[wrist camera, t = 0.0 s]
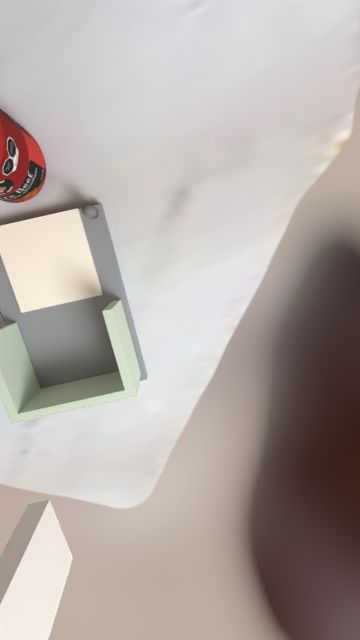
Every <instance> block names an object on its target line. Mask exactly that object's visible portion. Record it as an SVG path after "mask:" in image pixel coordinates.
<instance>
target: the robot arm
mask: <svg viewBox="0 0 360 640" xmlns="http://www.w3.org/2000/svg"><path fill="white" fill-rule="evenodd" d="M72 559H73V558H72V555H71V553H70V550H69V548H68V545H67V543H66V540H65V538H64V535H63V533H62V530H61V528H60V525H59V523H58V520H57V518H56V515H55V513H54V510H53V508H52V505H51V503H50V500H46V501H42V502H37V503H33V504H29V505H28V506H27V508H26V510H25V512H24V513H23V515H22V517H21V519H20V521H19V523H18V525H17V526H16V528H15V530H14V532H13V534H12V536H11V537H10V540H9V541H8V543H7V545H6V547H5V548H4V551H3V552H2V554H1V556H0V640H48V638H49V635H50V632H51V629H52V625H53V622H54V619H55V615H56V612H57V609H58V605H59V602H60V599H61V596H62V592H63V589H64V585H65V582H66V579H67V575H68V573H69V569H70V566H71V563H72Z"/></svg>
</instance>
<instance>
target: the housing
mask: <svg viewBox="0 0 360 640" xmlns="http://www.w3.org/2000/svg"><path fill="white" fill-rule="evenodd" d="M102 313H103V316H104V319H105V323H106V326H107V330H108V333H109V337H110V340H111V344H112V347H113V351H114V354H115V357H116V361H117V364H118V368H119V371H118V372H113V373H108V374H104V375H99V376H95V377H90V378H86V379H81V380H77V381H72V382H68V383H63V384H59V385H54V386H50V387H45V388H40V385H39V382H38V380H37V377H36V374H35V371H34V369H33V366H32V363H31V361H30V358H29V355H28V352H27V350H26V347H25V344H24V341H23V339H22V336H21V333H20V331H19V328H18V325H17V322H16V323H12V324H8V325H6V326H4V327H2V328H0V396H1V398H2V401H3V403H4V406H5V408H6V411H7V413H8V416H9V418H10V421H11V423H12V424H13V423H18V422H23V421H27V420H32V419H36V418H41V417H45V416H50V415H54V414H59V413H64V412H68V411H73V410H77V409H82V408H86V407H91V406H95V405H100V404H105V403H109V402H114V401H118V400H123V399H127V398H132V397H136V395H137V391H138V386H139V381H140V376H141V372H140V368H139V365H138V361H137V357H136V353H135V350H134V346H133V342H132V339H131V335H130V331H129V328H128V324H127V320H126V316H125V313H124V309H123V305H122V302H121V299H119V300H115V301H112V302H111V303H110V304H109V305H108V306H107V307H106V308H105V309H104V310H103V311H102Z"/></svg>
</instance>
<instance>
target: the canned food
mask: <svg viewBox="0 0 360 640" xmlns="http://www.w3.org/2000/svg"><path fill="white" fill-rule="evenodd" d="M45 177H46V165H45V160H44V156H43V154H42V151H41V149H40V147H39V145H38V144H37V142H36V141H35V139H34V138H33V137H32V136H31V135H30V134H29V133H28V132H27V131H26V130H25V129H23V128H22V127H21V126H20V125H19V124H18V123H16V122H15V121H14V120H13V119H12V118H11V117H9V116H8V115H7V114H6V113H5V112H4V111H2V110H1V109H0V200H2V201H6V202H10V203H19V202H24V201H26V200H29V199H31V198H33V197H34V196H35V195H37V193H38V192H39V191H40V190H41V188H42V186H43V184H44V181H45Z"/></svg>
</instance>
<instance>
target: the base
mask: <svg viewBox="0 0 360 640" xmlns="http://www.w3.org/2000/svg"><path fill="white" fill-rule="evenodd" d="M119 299H121V302H122V305H123V309H124V313H125V316H126V320H127V324H128V328H129V331H130V335H131V339H132V342H133V346H134V350H135V353H136V357H137V361H138V365H139V368H140V372H141V376H140V381H141V380H146V379H147V372H146V369H145V365H144V361H143V357H142V353H141V350H140V346H139V342H138V338H137V335H136V331H135V327H134V323H133V319H132V316H131V312H130V308H129V304H128V301H127V297H126V293H125V289H124V285H123V282H122V278H121V274H120V270H119V267H118V263H117V259H116V255H115V251H114V248H113V244H112V240H111V236H110V233H109V229H108V225H107V221H106V217H105V214H104V210H103V206H102V205H101V204H97V205H92V206H91V205H89V204H85V205H84V206H83V207H82V208H79V209H78V208H77V209H72V210H68V211H63V212H59V213H55V214H50V215H46V216H41V217H37V218H32V219H28V220H24V221H19V222H15V223H10V224H6V225H1V226H0V312H1V314H2V317H3V320H4V322H5V325H8V324H12V323H16V322H17V325H18V328H19V331H20V333H21V336H22V339H23V341H24V344H25V347H26V350H27V352H28V355H29V358H30V361H31V363H32V366H33V369H34V371H35V374H36V377H37V380H38V382H39V385H40V388H45V387H50V386H54V385H59V384H63V383H68V382H72V381H77V380H81V379H86V378H90V377H95V376H99V375H104V374H108V373H113V372H118V371H119V368H118V364H117V361H116V357H115V354H114V351H113V347H112V344H111V340H110V337H109V333H108V330H107V326H106V323H105V319H104V316H103V313H102V311H103V310H104V309H105V308H106V307H107V306H108V305H109V304H110V303H111V302H112V301H115V300H119Z"/></svg>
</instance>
